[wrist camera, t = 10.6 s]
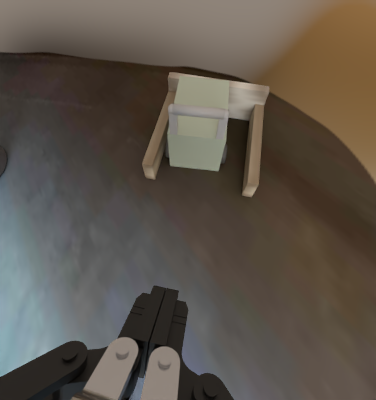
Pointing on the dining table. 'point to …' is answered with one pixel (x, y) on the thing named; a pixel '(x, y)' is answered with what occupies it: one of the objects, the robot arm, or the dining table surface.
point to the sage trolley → (198, 124)
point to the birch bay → (238, 108)
